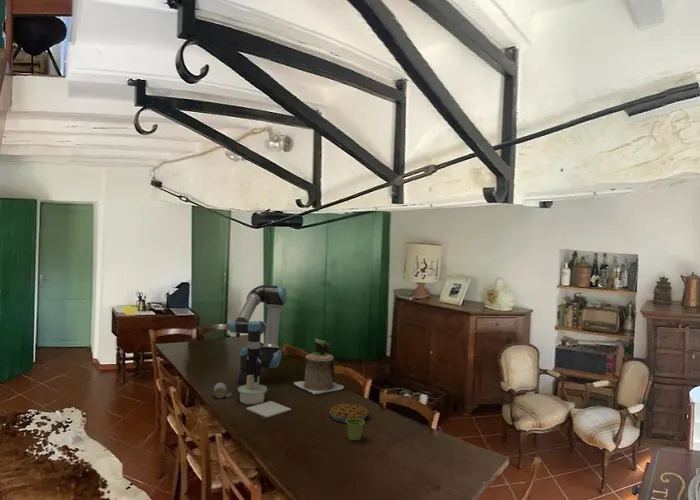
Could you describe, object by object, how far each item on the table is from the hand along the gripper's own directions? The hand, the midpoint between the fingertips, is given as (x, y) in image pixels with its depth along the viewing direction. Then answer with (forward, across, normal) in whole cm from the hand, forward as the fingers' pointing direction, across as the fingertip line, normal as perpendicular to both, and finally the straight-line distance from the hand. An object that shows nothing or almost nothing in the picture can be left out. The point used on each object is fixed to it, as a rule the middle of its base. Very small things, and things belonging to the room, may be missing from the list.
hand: (252, 386), depth 325 cm
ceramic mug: (+9, -17, -9) cm, 21 cm away
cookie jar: (+9, +8, +48) cm, 49 cm away
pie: (+9, +57, +23) cm, 62 cm away
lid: (+2, 0, 0) cm, 2 cm away
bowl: (+8, 0, 0) cm, 8 cm away
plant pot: (+9, +79, +3) cm, 80 cm away
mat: (+8, +19, -3) cm, 21 cm away
